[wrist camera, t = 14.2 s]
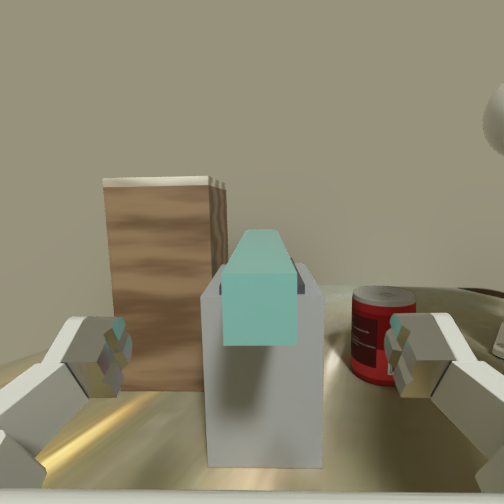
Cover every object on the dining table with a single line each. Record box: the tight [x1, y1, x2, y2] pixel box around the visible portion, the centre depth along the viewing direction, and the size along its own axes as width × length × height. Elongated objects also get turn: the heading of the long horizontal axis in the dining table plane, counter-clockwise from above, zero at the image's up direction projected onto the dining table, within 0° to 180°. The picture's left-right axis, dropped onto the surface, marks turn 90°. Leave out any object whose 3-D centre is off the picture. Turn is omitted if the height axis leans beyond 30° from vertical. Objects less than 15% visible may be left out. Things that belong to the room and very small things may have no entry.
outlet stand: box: [103, 176, 228, 391], centre depth 49 cm, size 19×12×26 cm, turn 178°
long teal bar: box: [221, 229, 297, 346], centre depth 27 cm, size 24×4×4 cm, turn 178°
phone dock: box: [200, 258, 325, 468], centre depth 35 cm, size 14×10×16 cm
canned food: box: [351, 286, 416, 386], centre depth 44 cm, size 8×8×11 cm
